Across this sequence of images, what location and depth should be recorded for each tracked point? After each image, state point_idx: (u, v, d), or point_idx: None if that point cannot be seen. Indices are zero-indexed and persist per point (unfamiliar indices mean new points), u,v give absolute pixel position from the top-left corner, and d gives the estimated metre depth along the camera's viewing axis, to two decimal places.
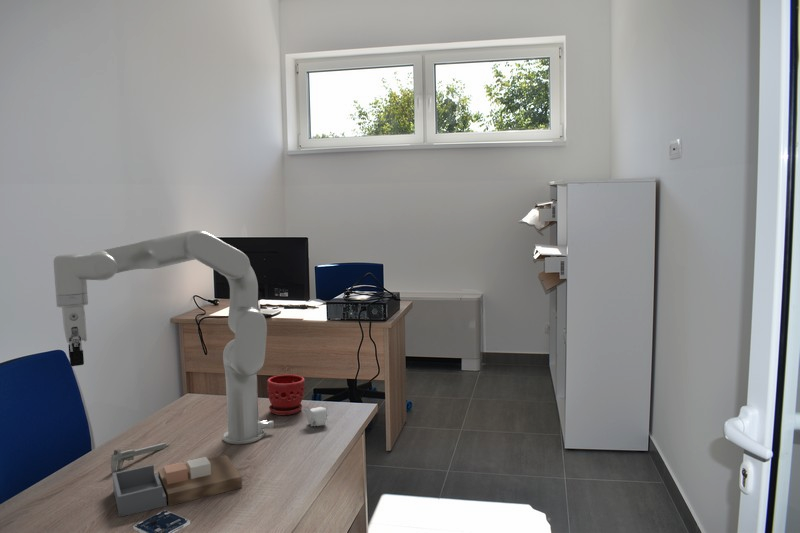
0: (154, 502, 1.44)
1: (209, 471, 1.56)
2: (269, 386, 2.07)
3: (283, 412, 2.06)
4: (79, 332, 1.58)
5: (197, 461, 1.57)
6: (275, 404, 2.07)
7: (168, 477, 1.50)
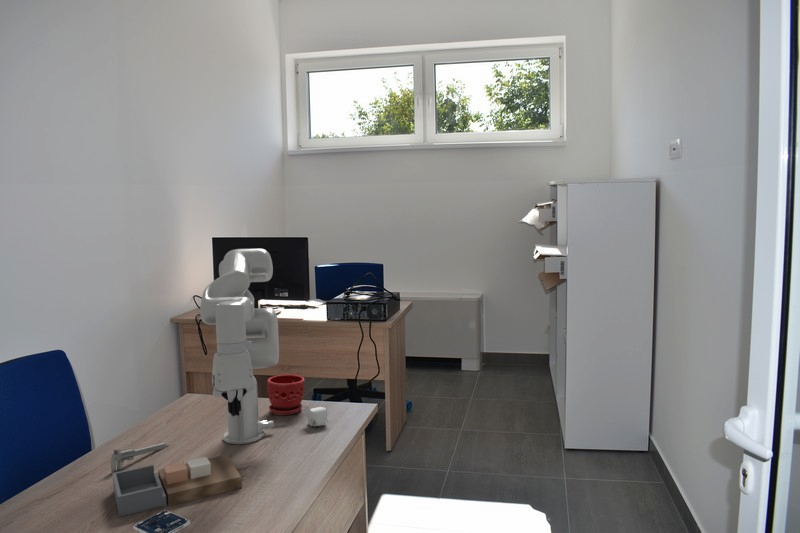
0: (154, 502, 1.44)
1: (209, 471, 1.56)
2: (269, 386, 2.07)
3: (283, 412, 2.06)
4: None
5: (197, 461, 1.57)
6: (275, 404, 2.07)
7: (168, 477, 1.50)
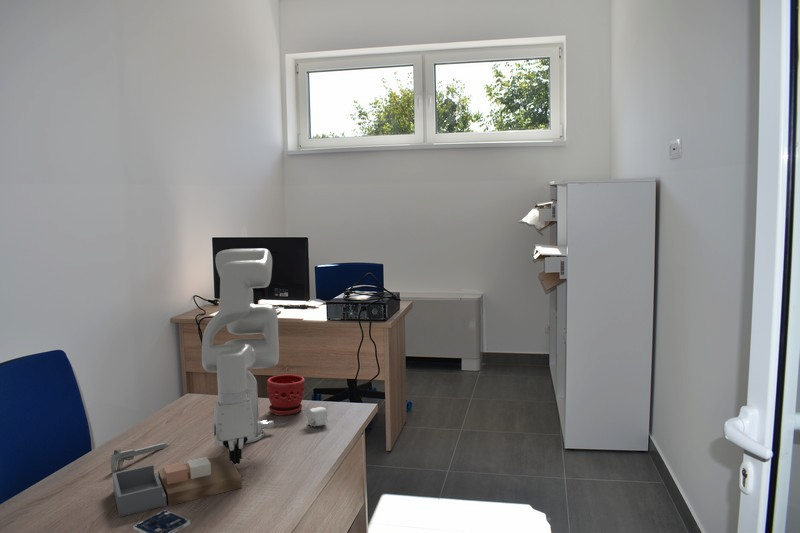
0: (154, 502, 1.44)
1: (209, 471, 1.56)
2: (269, 386, 2.07)
3: (283, 412, 2.06)
4: None
5: (197, 461, 1.57)
6: (275, 404, 2.07)
7: (168, 477, 1.50)
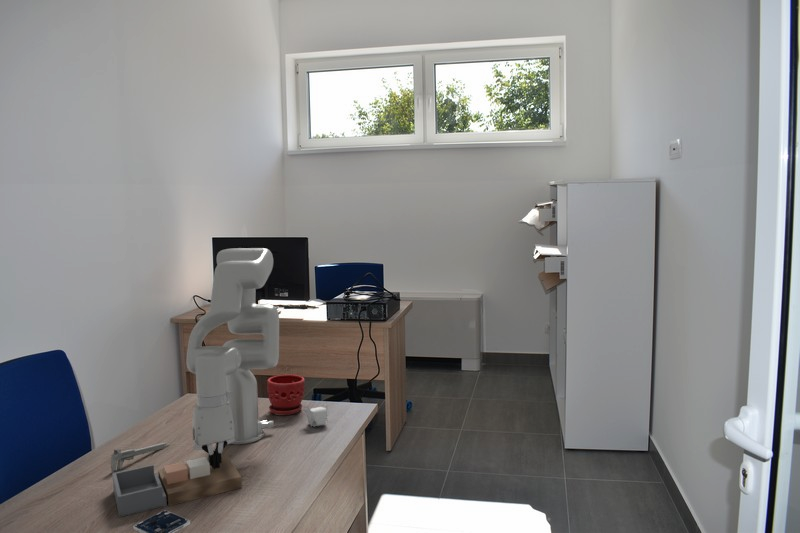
0: (154, 502, 1.44)
1: (208, 471, 1.55)
2: (269, 386, 2.07)
3: (283, 412, 2.06)
4: None
5: (196, 461, 1.57)
6: (275, 404, 2.07)
7: (168, 477, 1.50)
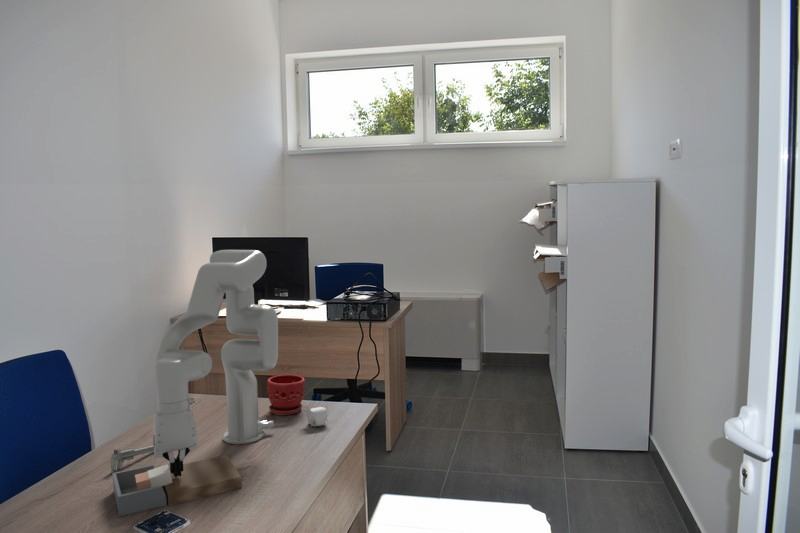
0: (154, 502, 1.44)
1: (170, 479, 1.51)
2: (269, 386, 2.07)
3: (283, 412, 2.06)
4: None
5: (157, 470, 1.52)
6: (275, 404, 2.07)
7: None
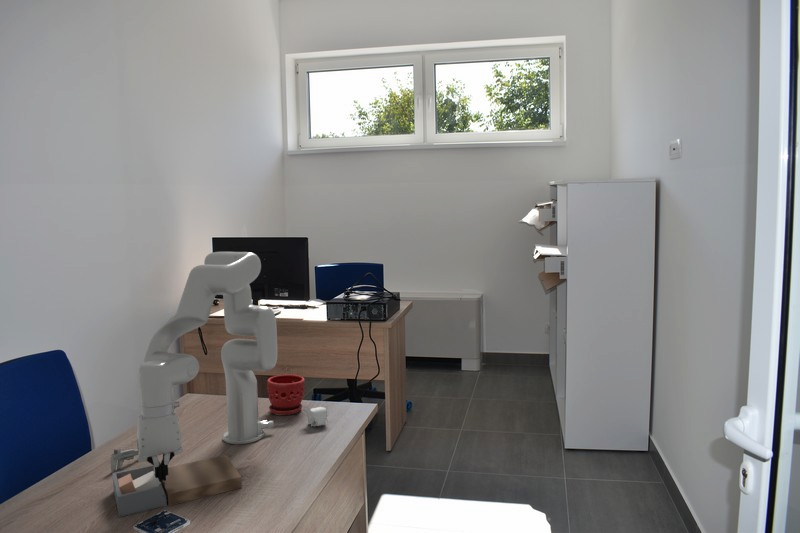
0: (154, 502, 1.44)
1: None
2: (269, 386, 2.07)
3: (283, 412, 2.06)
4: None
5: (143, 479, 1.50)
6: (275, 404, 2.07)
7: None
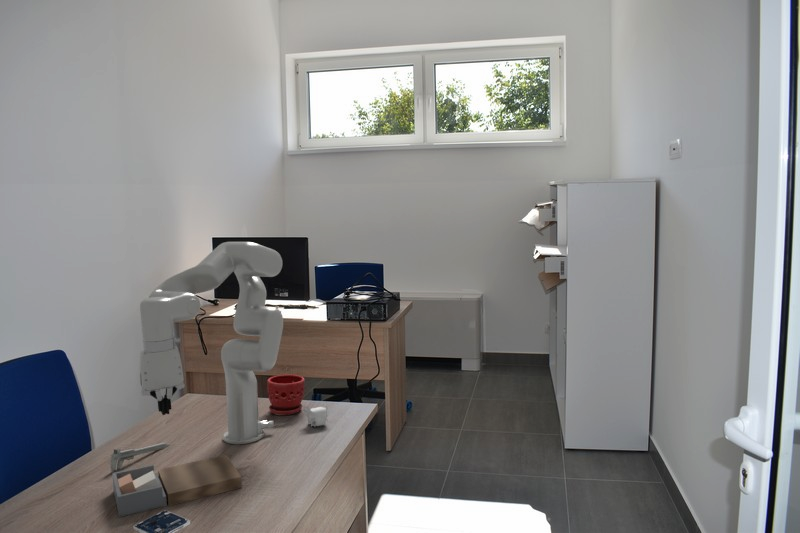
0: (154, 502, 1.44)
1: (157, 485, 1.49)
2: (269, 386, 2.07)
3: (283, 412, 2.06)
4: None
5: (143, 479, 1.50)
6: (275, 404, 2.07)
7: None
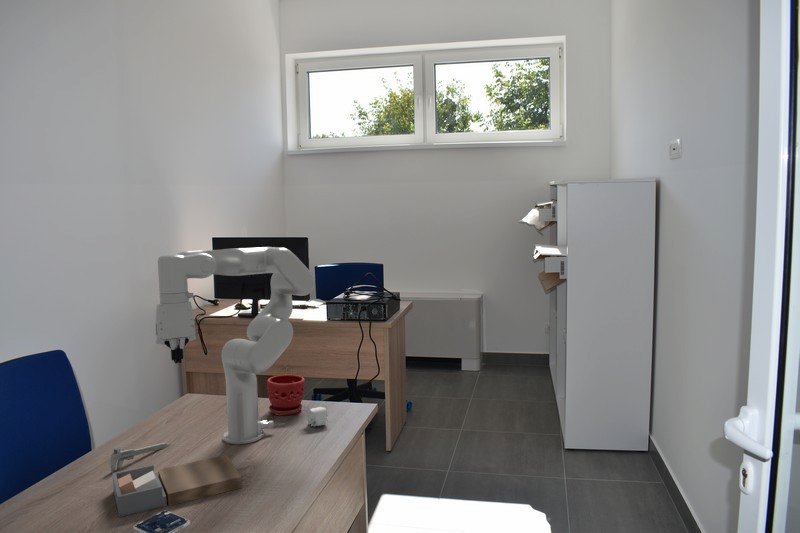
0: (154, 502, 1.44)
1: (157, 485, 1.49)
2: (269, 386, 2.07)
3: (283, 412, 2.06)
4: None
5: (143, 479, 1.50)
6: (275, 404, 2.07)
7: None
